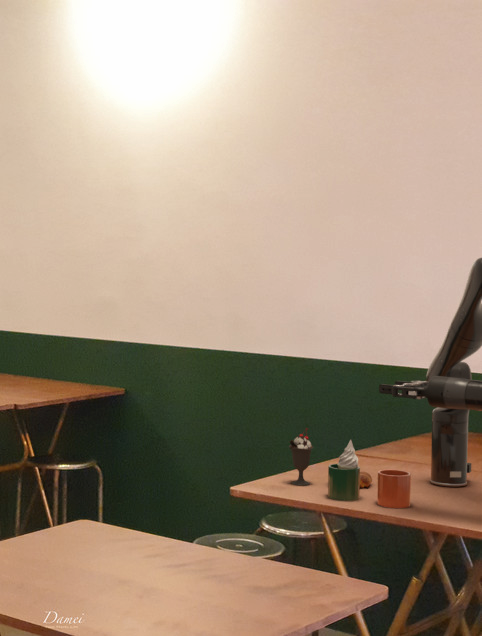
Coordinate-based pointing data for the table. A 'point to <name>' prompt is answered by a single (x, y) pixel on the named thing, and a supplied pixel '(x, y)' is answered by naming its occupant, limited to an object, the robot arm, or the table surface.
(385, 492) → the cup
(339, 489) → the stand
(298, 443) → the sundae
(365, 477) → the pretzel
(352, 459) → the ice cream cone
